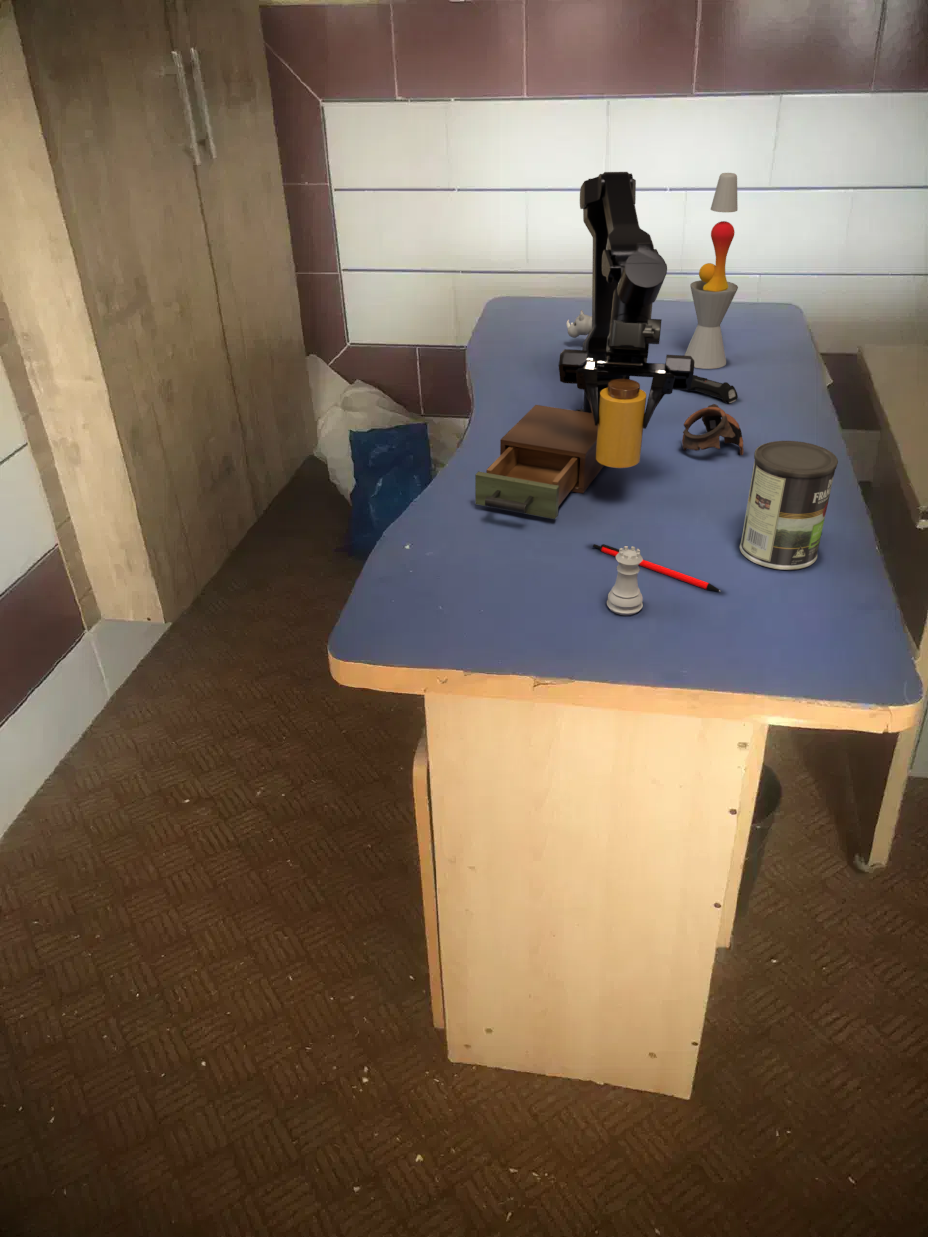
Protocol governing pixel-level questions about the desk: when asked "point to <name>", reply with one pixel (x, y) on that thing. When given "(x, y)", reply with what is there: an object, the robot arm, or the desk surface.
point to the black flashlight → (714, 389)
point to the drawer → (527, 481)
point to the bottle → (620, 424)
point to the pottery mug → (712, 430)
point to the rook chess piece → (626, 583)
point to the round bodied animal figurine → (580, 325)
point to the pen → (661, 569)
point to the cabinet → (559, 438)
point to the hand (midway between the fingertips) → (620, 425)
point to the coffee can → (787, 504)
